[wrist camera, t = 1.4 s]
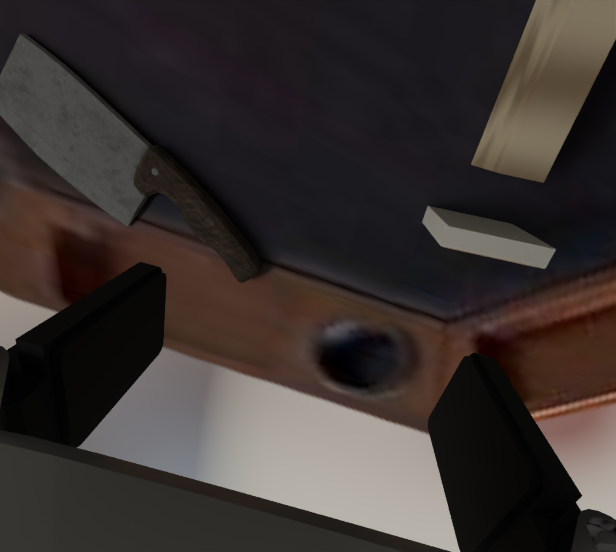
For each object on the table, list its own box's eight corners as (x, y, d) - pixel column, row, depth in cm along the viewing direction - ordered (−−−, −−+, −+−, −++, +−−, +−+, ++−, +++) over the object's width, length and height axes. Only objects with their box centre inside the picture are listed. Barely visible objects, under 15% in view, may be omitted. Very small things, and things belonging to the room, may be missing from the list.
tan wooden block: (538, -7, 23) (595, -48, 18) (582, 1, 23) (653, -37, 18) (470, 164, 28) (499, 173, 23) (506, 172, 28) (543, 182, 23)
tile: (427, 205, 30) (448, 226, 24) (512, 223, 30) (556, 249, 24) (421, 223, 31) (439, 247, 25) (504, 241, 31) (544, 270, 24)
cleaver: (279, 247, 34) (275, 254, 32) (226, 304, 38) (219, 314, 36) (23, 22, 28) (-2, 14, 26) (-10, 116, 32) (-33, 115, 30)
